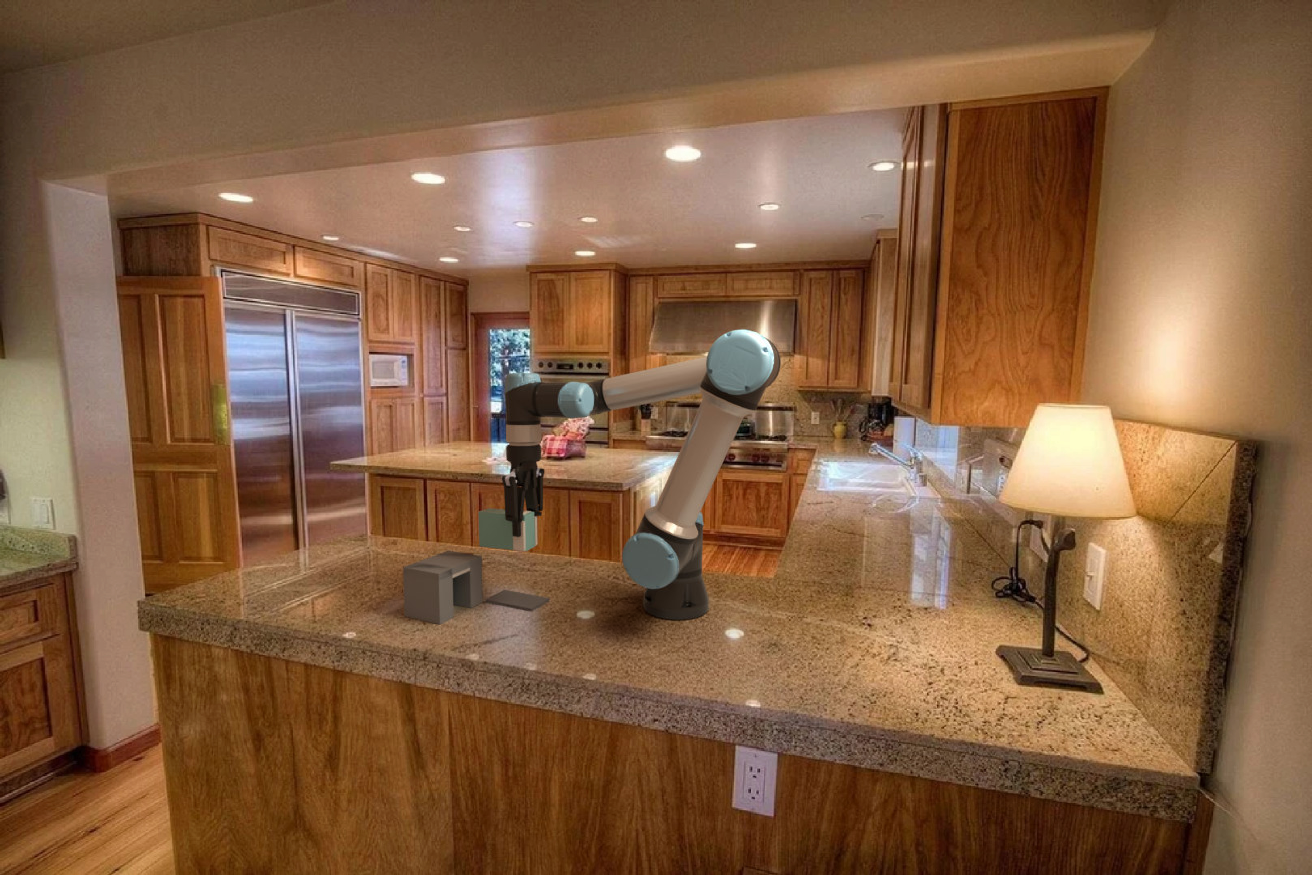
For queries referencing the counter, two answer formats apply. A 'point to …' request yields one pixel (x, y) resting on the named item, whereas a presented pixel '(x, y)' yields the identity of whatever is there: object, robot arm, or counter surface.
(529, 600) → the pad
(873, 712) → the counter surface
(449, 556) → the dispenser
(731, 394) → the robot arm
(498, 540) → the banded gift box
